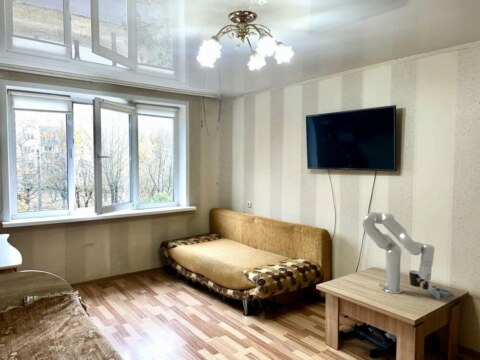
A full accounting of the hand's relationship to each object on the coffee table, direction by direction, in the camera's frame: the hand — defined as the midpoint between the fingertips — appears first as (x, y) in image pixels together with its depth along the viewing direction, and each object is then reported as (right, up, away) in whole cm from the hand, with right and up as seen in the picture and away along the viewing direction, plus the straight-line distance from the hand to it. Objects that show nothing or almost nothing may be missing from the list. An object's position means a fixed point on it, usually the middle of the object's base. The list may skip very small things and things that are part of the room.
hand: (423, 287), depth 241 cm
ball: (0, +2, 0) cm, 2 cm away
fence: (+8, -6, +2) cm, 10 cm away
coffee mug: (+6, -5, +21) cm, 23 cm away
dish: (+15, -6, +4) cm, 16 cm away
